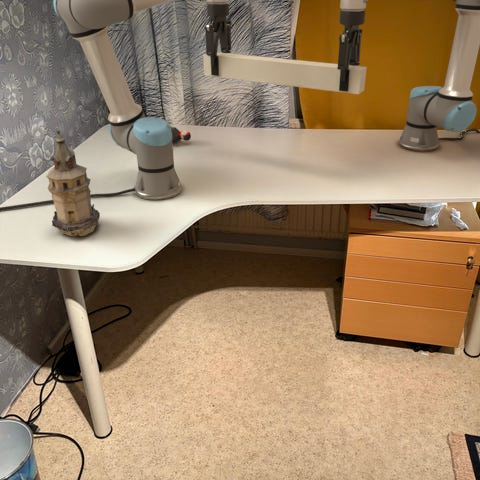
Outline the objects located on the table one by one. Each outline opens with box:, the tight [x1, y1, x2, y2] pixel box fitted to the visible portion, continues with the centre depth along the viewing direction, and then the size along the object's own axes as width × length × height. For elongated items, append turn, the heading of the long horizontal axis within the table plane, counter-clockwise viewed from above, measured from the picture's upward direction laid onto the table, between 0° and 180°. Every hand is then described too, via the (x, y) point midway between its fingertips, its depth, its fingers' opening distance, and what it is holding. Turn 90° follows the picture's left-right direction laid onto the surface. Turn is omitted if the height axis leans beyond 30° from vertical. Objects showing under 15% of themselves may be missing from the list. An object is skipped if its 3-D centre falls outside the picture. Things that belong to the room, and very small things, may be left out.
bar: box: [202, 51, 368, 95], centre depth 180 cm, size 58×5×7 cm, turn 60°
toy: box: [170, 125, 192, 146], centre depth 219 cm, size 26×6×30 cm
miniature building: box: [46, 129, 101, 237], centre depth 148 cm, size 13×14×30 cm
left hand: (219, 73), depth 192 cm, fingers closed on bar, 5 cm apart
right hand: (346, 88), depth 171 cm, fingers closed on bar, 5 cm apart
